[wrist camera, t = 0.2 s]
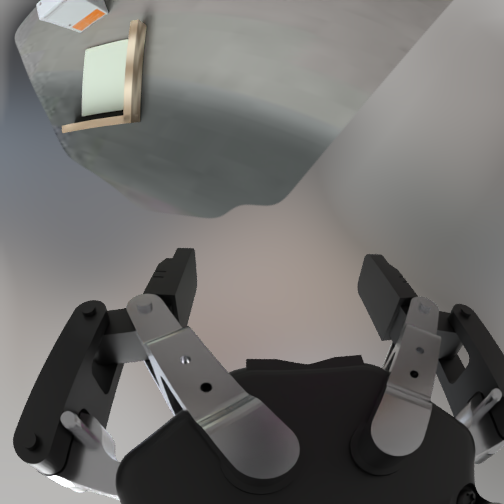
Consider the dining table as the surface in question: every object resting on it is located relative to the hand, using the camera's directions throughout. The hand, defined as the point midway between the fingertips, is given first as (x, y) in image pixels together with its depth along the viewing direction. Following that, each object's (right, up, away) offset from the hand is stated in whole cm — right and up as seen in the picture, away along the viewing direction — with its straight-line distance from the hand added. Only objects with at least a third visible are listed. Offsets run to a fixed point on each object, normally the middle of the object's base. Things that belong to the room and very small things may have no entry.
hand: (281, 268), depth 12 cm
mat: (-24, +28, +18) cm, 41 cm away
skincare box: (-27, +39, +12) cm, 50 cm away
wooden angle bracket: (-24, +28, +18) cm, 41 cm away
